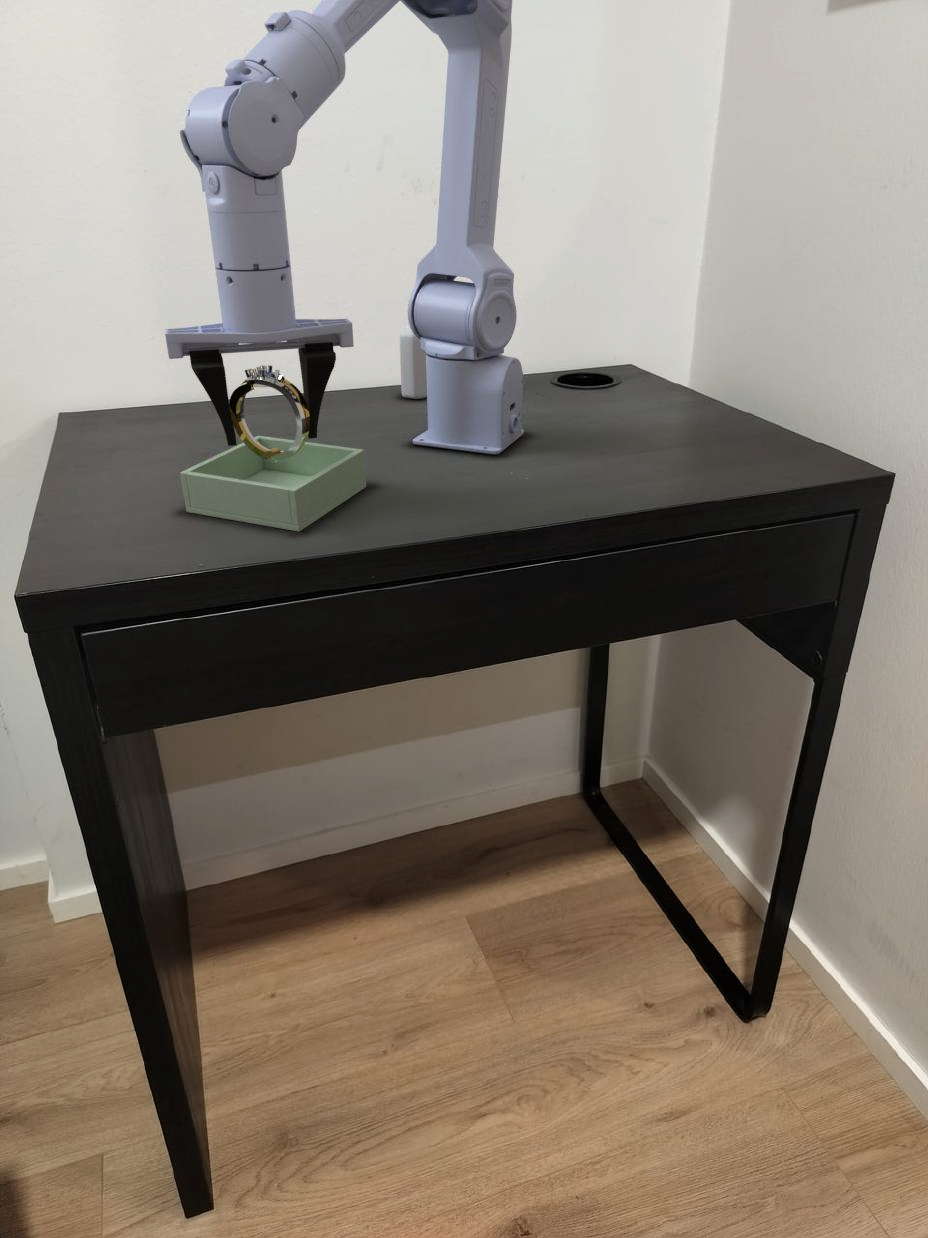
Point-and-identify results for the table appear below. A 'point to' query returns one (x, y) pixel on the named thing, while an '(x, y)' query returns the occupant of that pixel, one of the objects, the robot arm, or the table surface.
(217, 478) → the bin
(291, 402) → the ring
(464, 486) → the table surface
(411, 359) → the eye dropper bottle
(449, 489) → the table surface
